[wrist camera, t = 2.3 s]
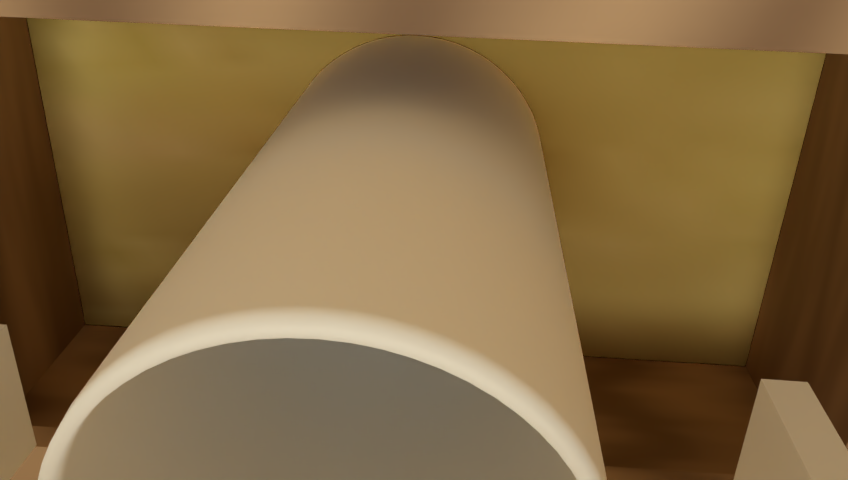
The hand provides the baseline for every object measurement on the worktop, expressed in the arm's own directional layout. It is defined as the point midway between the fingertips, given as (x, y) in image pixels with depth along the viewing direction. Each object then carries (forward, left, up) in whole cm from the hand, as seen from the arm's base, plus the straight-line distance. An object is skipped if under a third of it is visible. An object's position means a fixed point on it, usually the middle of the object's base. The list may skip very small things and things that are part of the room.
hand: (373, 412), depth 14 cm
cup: (0, 0, -13) cm, 13 cm away
